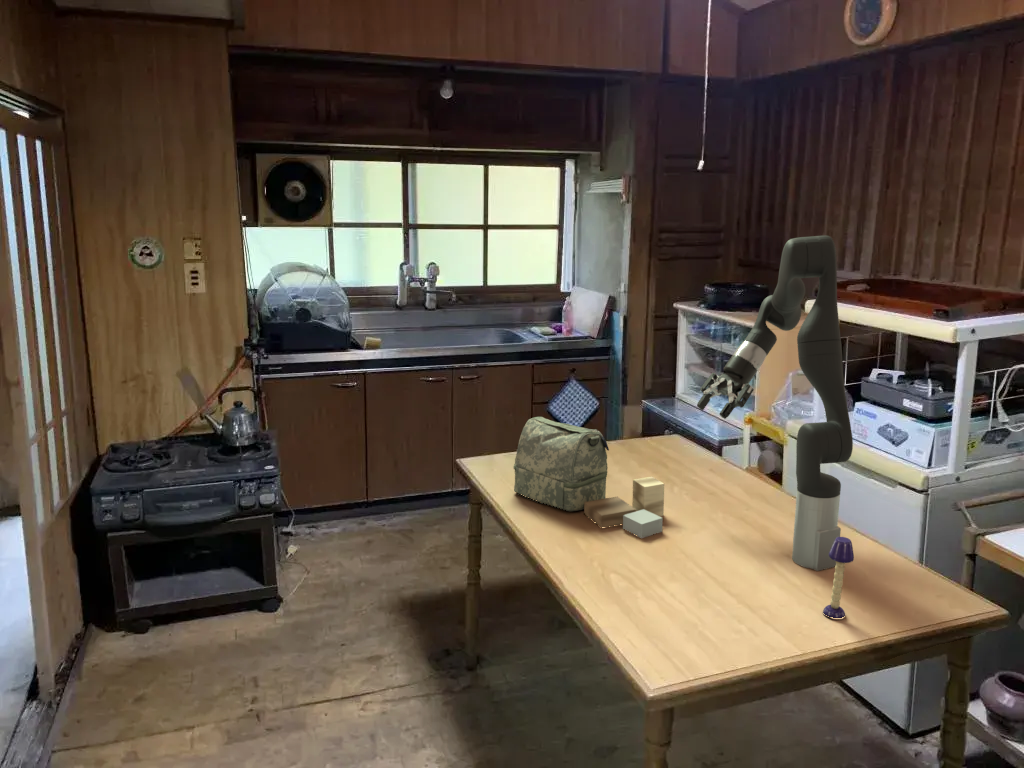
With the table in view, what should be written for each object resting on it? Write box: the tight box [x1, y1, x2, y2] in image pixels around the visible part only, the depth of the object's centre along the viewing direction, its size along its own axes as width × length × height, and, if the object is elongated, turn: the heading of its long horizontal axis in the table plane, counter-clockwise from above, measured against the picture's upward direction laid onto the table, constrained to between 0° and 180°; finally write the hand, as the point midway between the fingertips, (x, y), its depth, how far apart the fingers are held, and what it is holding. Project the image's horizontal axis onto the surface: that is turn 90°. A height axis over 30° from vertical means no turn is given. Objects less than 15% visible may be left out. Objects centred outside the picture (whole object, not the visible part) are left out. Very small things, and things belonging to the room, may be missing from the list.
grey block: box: [622, 509, 663, 539], centre depth 203 cm, size 7×7×4 cm
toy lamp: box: [822, 536, 855, 618], centre depth 160 cm, size 5×5×17 cm
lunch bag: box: [513, 416, 610, 512], centre depth 224 cm, size 26×18×22 cm
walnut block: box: [583, 496, 636, 529], centre depth 211 cm, size 10×10×4 cm
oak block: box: [631, 476, 665, 517], centre depth 213 cm, size 6×6×9 cm
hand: (710, 412), depth 207 cm, fingers open, 8 cm apart
